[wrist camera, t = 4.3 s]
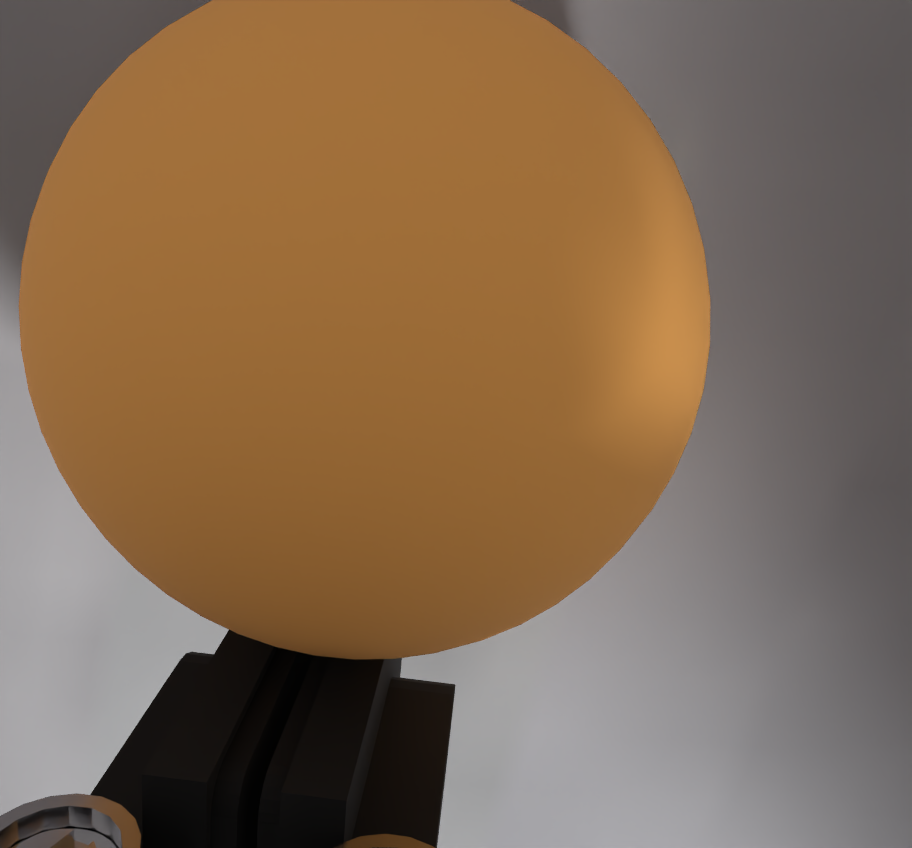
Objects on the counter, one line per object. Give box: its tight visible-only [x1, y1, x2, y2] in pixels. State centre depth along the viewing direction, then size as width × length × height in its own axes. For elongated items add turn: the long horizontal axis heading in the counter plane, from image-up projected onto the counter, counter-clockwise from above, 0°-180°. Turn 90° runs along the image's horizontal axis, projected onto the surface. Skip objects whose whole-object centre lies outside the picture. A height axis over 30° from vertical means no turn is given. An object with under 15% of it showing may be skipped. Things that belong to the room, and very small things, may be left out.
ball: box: [19, 0, 710, 660], centre depth 8 cm, size 6×6×6 cm
